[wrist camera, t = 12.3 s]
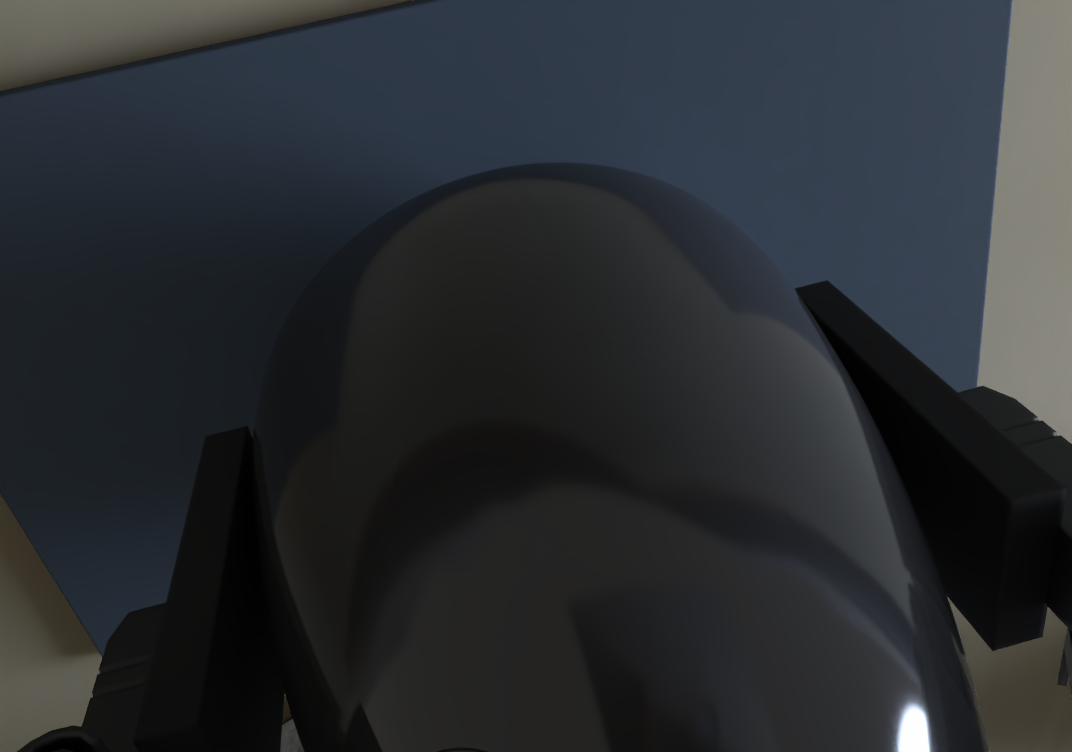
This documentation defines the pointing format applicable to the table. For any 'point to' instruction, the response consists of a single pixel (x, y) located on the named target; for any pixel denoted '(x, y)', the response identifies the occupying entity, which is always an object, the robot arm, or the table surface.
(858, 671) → the black rounded piece
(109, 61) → the table surface
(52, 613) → the table surface
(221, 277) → the desk mat
